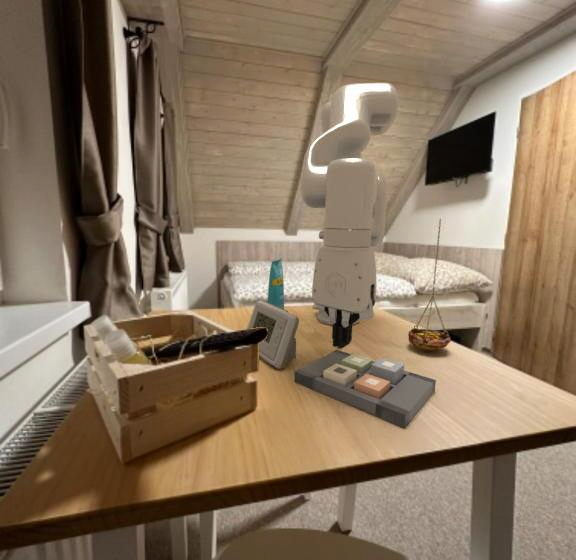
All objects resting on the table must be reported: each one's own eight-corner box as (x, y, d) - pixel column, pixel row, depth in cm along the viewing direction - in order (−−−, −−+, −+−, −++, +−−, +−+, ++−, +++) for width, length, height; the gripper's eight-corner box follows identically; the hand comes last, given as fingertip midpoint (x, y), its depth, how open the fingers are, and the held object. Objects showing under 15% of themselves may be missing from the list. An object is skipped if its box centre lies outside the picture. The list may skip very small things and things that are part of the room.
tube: (281, 337, 80) (282, 261, 77) (262, 335, 81) (263, 260, 78) (286, 328, 88) (288, 258, 84) (269, 326, 88) (270, 257, 85)
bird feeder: (453, 359, 69) (469, 218, 64) (410, 355, 71) (422, 217, 66) (442, 345, 77) (456, 219, 72) (404, 341, 79) (415, 218, 74)
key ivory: (322, 384, 56) (323, 370, 55) (335, 376, 59) (336, 363, 58) (343, 392, 53) (344, 378, 53) (356, 383, 56) (357, 370, 56)
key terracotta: (353, 396, 52) (354, 381, 51) (365, 387, 55) (366, 373, 55) (377, 406, 49) (379, 390, 49) (389, 395, 52) (390, 381, 52)
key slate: (370, 378, 56) (371, 364, 56) (380, 370, 59) (381, 357, 59) (393, 386, 54) (395, 371, 53) (403, 377, 57) (404, 363, 56)
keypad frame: (294, 381, 57) (294, 371, 57) (335, 358, 68) (336, 349, 68) (404, 428, 45) (405, 415, 44) (434, 390, 55) (435, 380, 55)
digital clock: (241, 344, 75) (241, 300, 73) (277, 340, 78) (278, 298, 77) (261, 374, 60) (261, 320, 58) (305, 368, 63) (306, 316, 62)
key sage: (340, 372, 60) (341, 360, 60) (351, 365, 63) (352, 353, 63) (361, 380, 57) (361, 366, 57) (371, 372, 61) (372, 359, 60)
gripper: (296, 238, 54) (294, 340, 58) (380, 244, 44) (371, 366, 48) (322, 236, 60) (318, 329, 63) (400, 241, 50) (391, 350, 54)
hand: (341, 345), depth 56 cm, fingers closed
